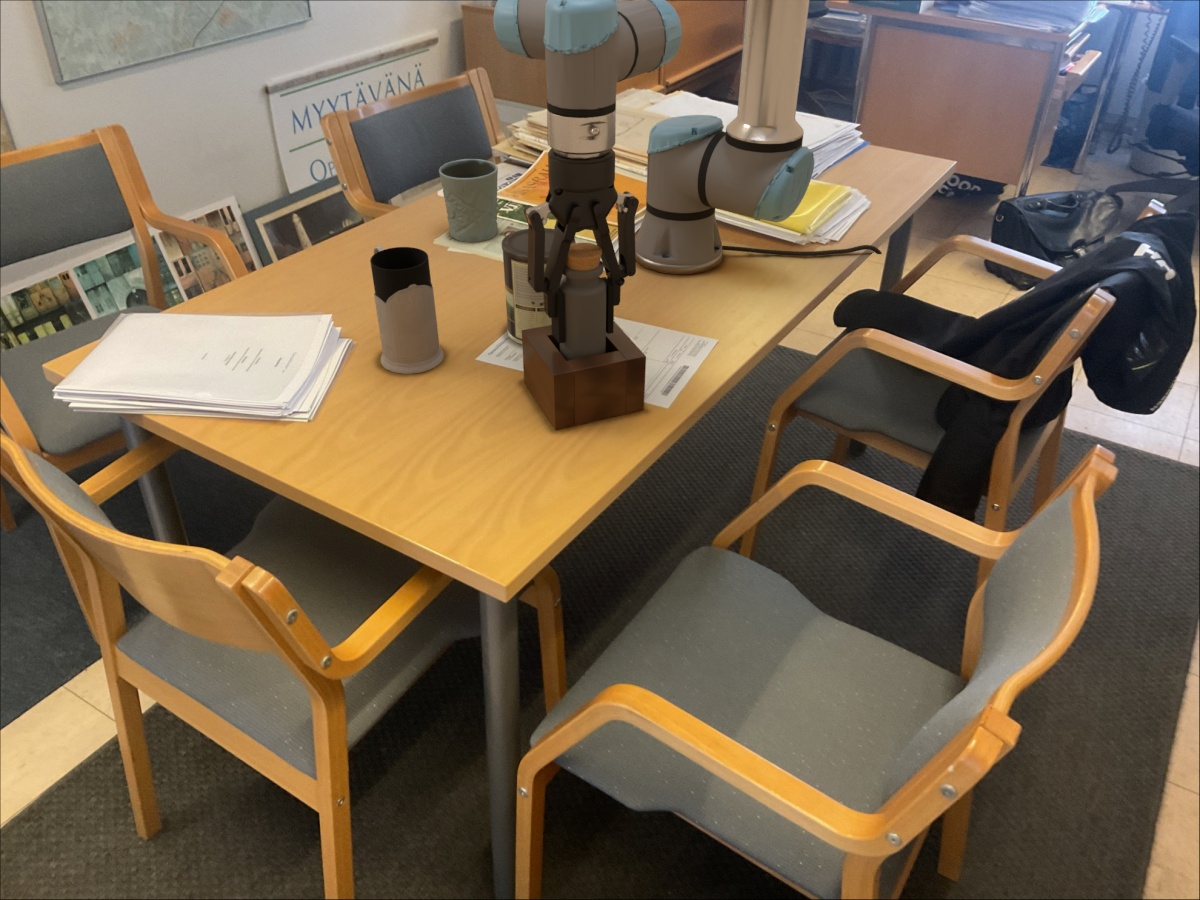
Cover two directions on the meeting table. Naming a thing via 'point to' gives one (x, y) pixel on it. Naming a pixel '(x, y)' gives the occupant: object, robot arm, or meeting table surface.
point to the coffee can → (523, 285)
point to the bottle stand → (583, 378)
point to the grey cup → (470, 198)
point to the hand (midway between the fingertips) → (582, 332)
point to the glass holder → (405, 310)
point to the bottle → (584, 302)
